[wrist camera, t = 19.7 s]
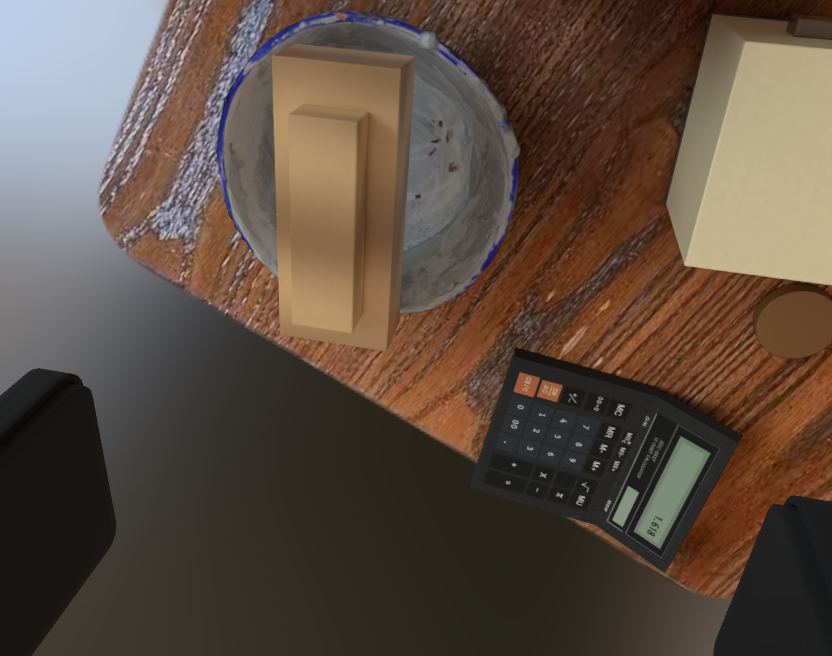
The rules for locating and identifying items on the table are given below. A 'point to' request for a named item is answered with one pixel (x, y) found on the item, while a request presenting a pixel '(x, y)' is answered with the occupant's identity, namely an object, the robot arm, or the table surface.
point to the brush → (341, 191)
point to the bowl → (428, 160)
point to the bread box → (758, 150)
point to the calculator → (603, 453)
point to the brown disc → (794, 321)
